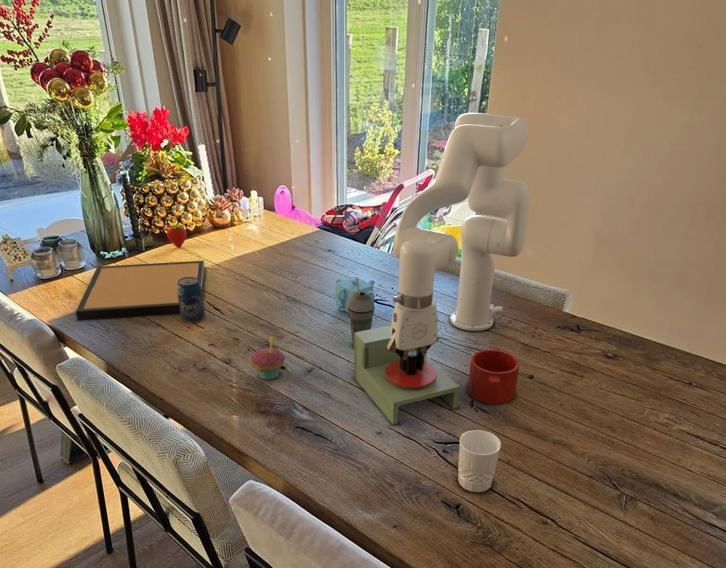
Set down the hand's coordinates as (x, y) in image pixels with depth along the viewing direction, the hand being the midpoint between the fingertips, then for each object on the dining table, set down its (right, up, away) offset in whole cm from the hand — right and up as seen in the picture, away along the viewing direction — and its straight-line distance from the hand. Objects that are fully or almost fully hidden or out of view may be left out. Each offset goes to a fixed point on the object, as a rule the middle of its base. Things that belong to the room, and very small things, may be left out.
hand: (411, 369), depth 147 cm
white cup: (+11, -23, -21) cm, 33 cm away
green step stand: (-1, -5, +7) cm, 9 cm away
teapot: (-13, +19, +46) cm, 51 cm away
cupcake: (-35, -1, +13) cm, 38 cm away
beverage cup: (-12, +7, +27) cm, 30 cm away
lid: (0, -1, +1) cm, 1 cm away
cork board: (-81, +26, +56) cm, 102 cm away
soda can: (-62, +16, +40) cm, 75 cm away
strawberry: (-81, +48, +90) cm, 130 cm away
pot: (+20, -5, +8) cm, 22 cm away
